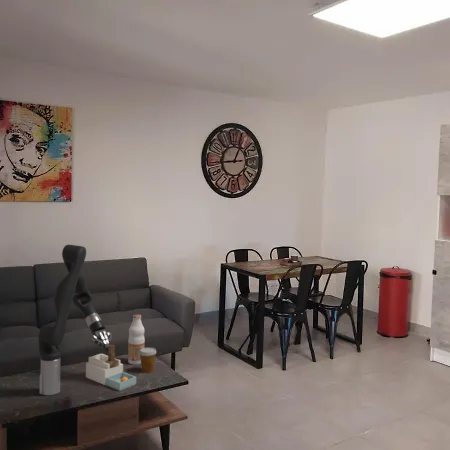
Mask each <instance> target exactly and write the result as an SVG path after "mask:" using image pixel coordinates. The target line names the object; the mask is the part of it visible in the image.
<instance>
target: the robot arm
mask: <svg viewBox="0 0 450 450" xmlns="http://www.w3.org/2000/svg"><path fill="white" fill-rule="evenodd" d="M61 256H62V257H61V258H62V260H63V262H64V265H65V268H66V270H67V275H65V276H64V277H63V278H62V279H61V280H60V281H59V283H58V284H57V285H56V288H55V291H54V294H53V305H54V308H55V315H56V317H55V323H54V325H49V324H48V325H47V324H46V325H45V324H44V325H43V326H42V327H41V328H39V329H40V330H39V333H38V353H39V355H40V374H39V395H44V396H53V395H56V394H59V393H60V392H61V351H60V350H59V349H57V348H56V347H58V346H60V345H61V344H62V342H63V341H64V339H65V338H64V337H65V334H66V328H67V323H68V317H69V313H70V310H71V306H72V304H73V305H74V306H75V307H76V309H78V310H79V311H80V313H81V314H82V316H83V318H84V320H85V322H86V324H87V326H88V329H89V331H90V333H91V334H92V338H91V342H93V343H94V344H96V345H97V346H99V347H103V348H104V350H105V351H106V353H108V345H110V343H111V342H112V336H113V332H108V330H107V329H106V326H105V325H104V323H103V321H102V319H101V317H100V315H99V314H98V312H97V310H96V308H95V307H94V305H92V304H91V305H87V304H89V303H91V302H92V300H93V295H92V294H91V292H90V291H89V288H88V285H87V281H86V278H85V276H84V274H83V272H82V268H83V266H84V264H85V259H86V258H87V257H86V256H87V249H86V247H84V246H82V245H76V244H66V245H65V246H64V247H63V249H62V252H61Z"/></svg>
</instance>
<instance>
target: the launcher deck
mask: <svg viewBox="0 0 450 450" xmlns="http://www.w3.org/2000/svg"><path fill="white" fill-rule="evenodd" d="M116 359H117V360H118V366H116V367H113V368H110V364H108V363H106V362H105V361H107V360H108V354H107V355H106V354H105V353H98V354H96V355H93V356H88V361H87V362H85V378H87V379H89V380H91V381H94V382H96V383H99V384H102V386H107V385H106V377H109V376H112V375H115V374H117V373H120V372H124V364H123V363H121V359H118V358H116Z"/></svg>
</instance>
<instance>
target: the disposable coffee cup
mask: <svg viewBox="0 0 450 450" xmlns="http://www.w3.org/2000/svg"><path fill="white" fill-rule="evenodd" d="M139 353H140V358H141V364H140V366H141V372H143V373H146V374H149V373H153V372H154V369H155V362H156V361H155V359H156V355H157V349H156V348H155V347H145V348H142V349H141V350H140V352H139Z"/></svg>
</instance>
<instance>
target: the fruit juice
mask: <svg viewBox="0 0 450 450" xmlns="http://www.w3.org/2000/svg"><path fill="white" fill-rule="evenodd" d="M142 322H143V321H142V315H141V314H134V315H132V323H131V324H130V327H129V328H128V334H129V336H128V340H127V341H128V345H127V347H128V348H127V349H128V351H127V353H128V356H127V362H128V364H130V365H135V366H137V365H141V358H140V353H139V352H140V350H141V349H142V348H146V347H145V346H146V345H145V342H146V341H145V333H146V332H145V327H144V325H143V323H142Z"/></svg>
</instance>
